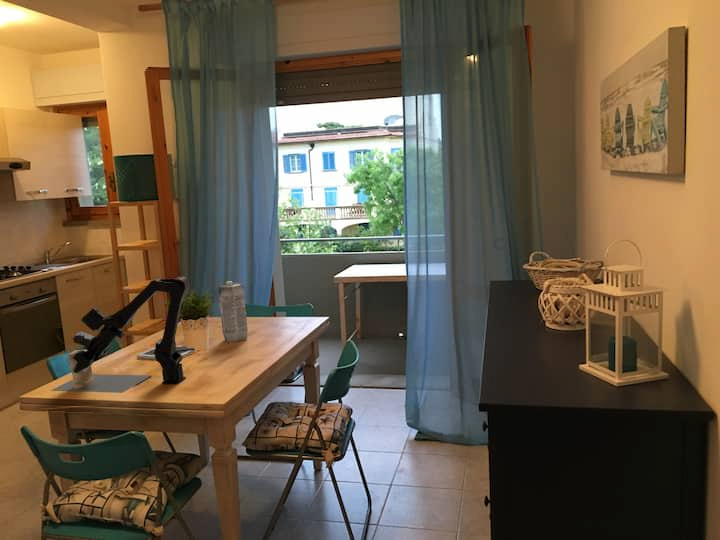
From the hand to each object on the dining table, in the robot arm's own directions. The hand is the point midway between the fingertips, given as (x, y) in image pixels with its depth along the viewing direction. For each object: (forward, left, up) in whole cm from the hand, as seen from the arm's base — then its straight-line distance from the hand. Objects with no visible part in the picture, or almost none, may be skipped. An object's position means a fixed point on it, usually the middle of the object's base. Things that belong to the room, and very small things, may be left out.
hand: (78, 369), depth 220 cm
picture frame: (-12, -41, -8) cm, 43 cm away
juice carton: (-32, -64, -7) cm, 72 cm away
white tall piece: (-1, 0, -6) cm, 6 cm away
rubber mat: (-6, -4, -7) cm, 10 cm away
